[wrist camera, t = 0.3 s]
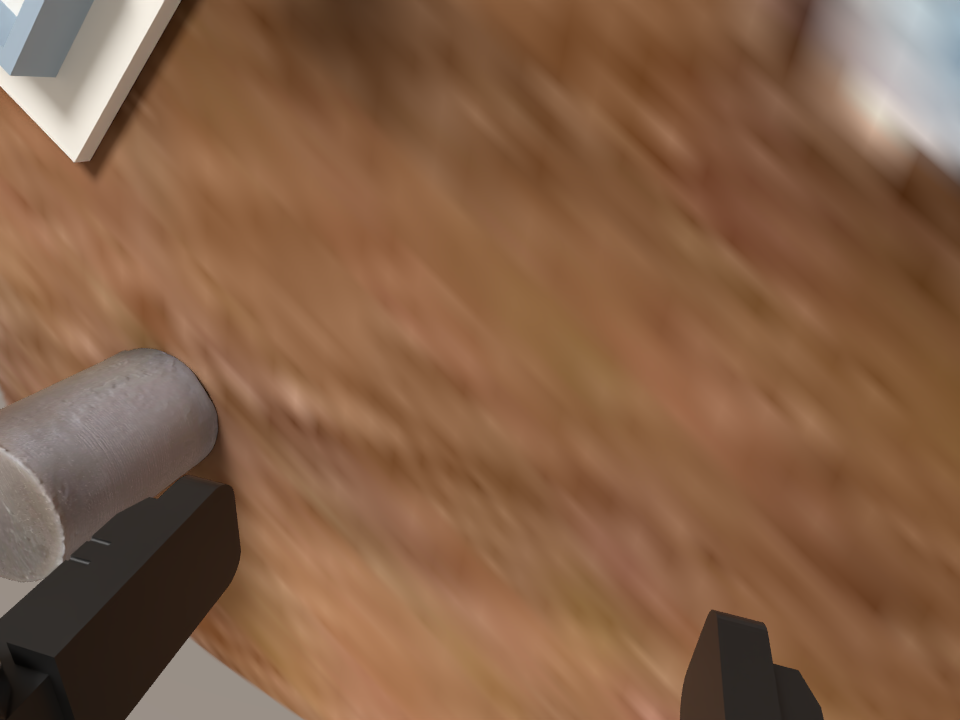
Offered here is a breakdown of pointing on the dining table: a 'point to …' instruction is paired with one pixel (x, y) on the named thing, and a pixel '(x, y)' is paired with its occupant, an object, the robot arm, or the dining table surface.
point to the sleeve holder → (77, 62)
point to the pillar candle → (94, 453)
